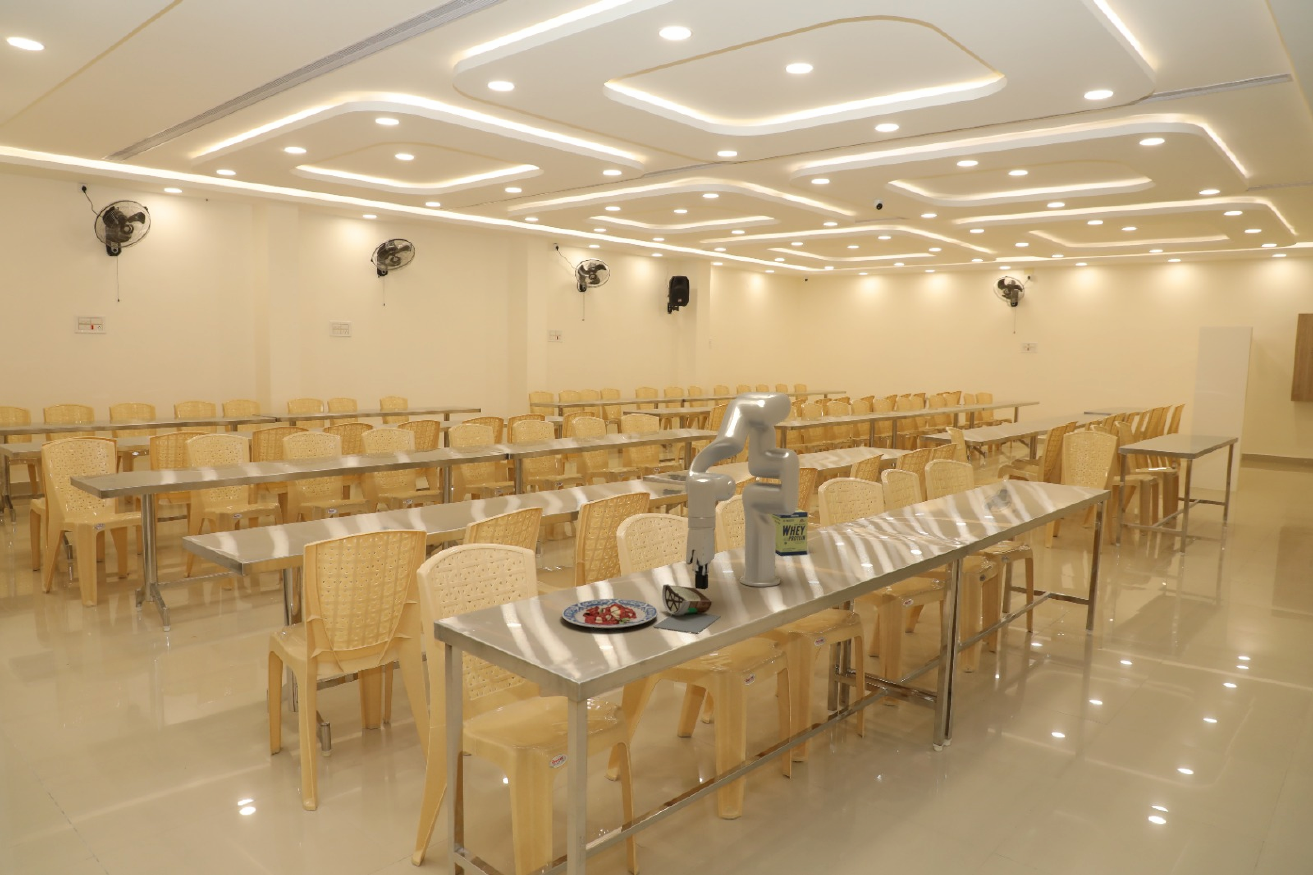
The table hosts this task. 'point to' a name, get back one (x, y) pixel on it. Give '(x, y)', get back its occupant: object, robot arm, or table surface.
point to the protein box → (791, 533)
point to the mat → (687, 622)
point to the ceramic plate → (609, 613)
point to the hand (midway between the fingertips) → (701, 588)
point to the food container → (684, 600)
